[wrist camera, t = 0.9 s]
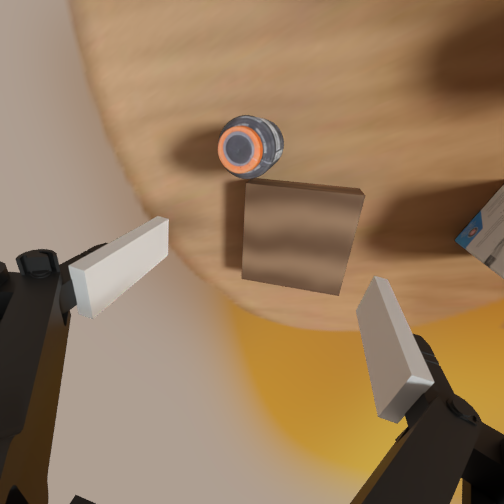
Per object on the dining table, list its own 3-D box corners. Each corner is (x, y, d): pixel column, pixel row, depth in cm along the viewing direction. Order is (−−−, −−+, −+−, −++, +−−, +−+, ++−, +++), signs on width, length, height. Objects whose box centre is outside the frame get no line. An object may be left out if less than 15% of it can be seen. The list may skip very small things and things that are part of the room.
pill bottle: (239, 167, 34) (208, 182, 24) (238, 118, 31) (203, 112, 21) (282, 169, 33) (269, 186, 23) (286, 118, 30) (272, 112, 20)
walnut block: (252, 177, 34) (245, 183, 30) (359, 188, 31) (365, 195, 28) (247, 265, 40) (241, 278, 37) (336, 280, 38) (338, 295, 34)
